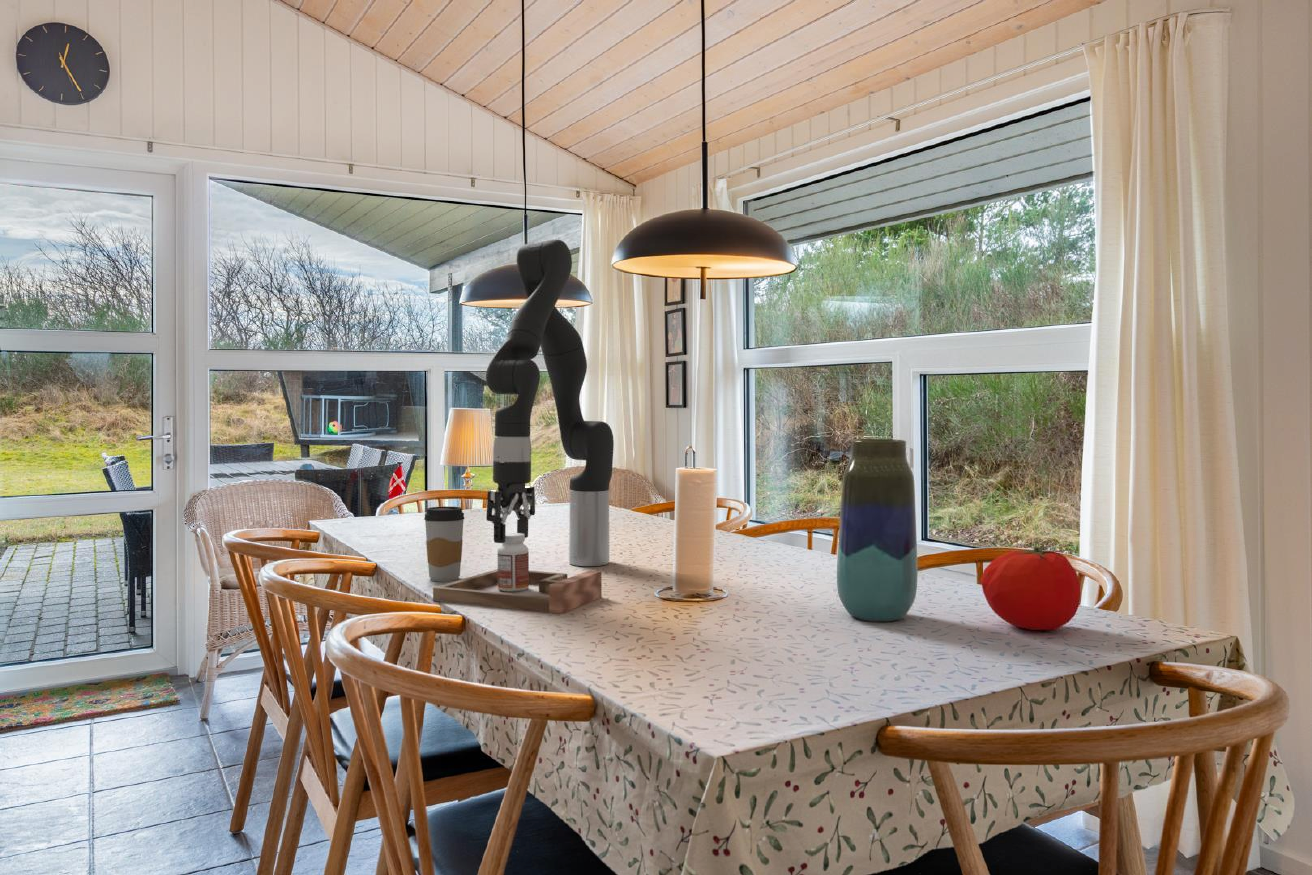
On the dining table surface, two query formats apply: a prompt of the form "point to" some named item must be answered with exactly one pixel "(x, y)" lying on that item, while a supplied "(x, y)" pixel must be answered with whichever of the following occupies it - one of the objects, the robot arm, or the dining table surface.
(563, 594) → the wooden tray frame
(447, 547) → the coffee cup
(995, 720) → the dining table surface
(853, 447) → the vase
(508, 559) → the pill bottle
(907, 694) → the dining table surface
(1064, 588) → the tomato
